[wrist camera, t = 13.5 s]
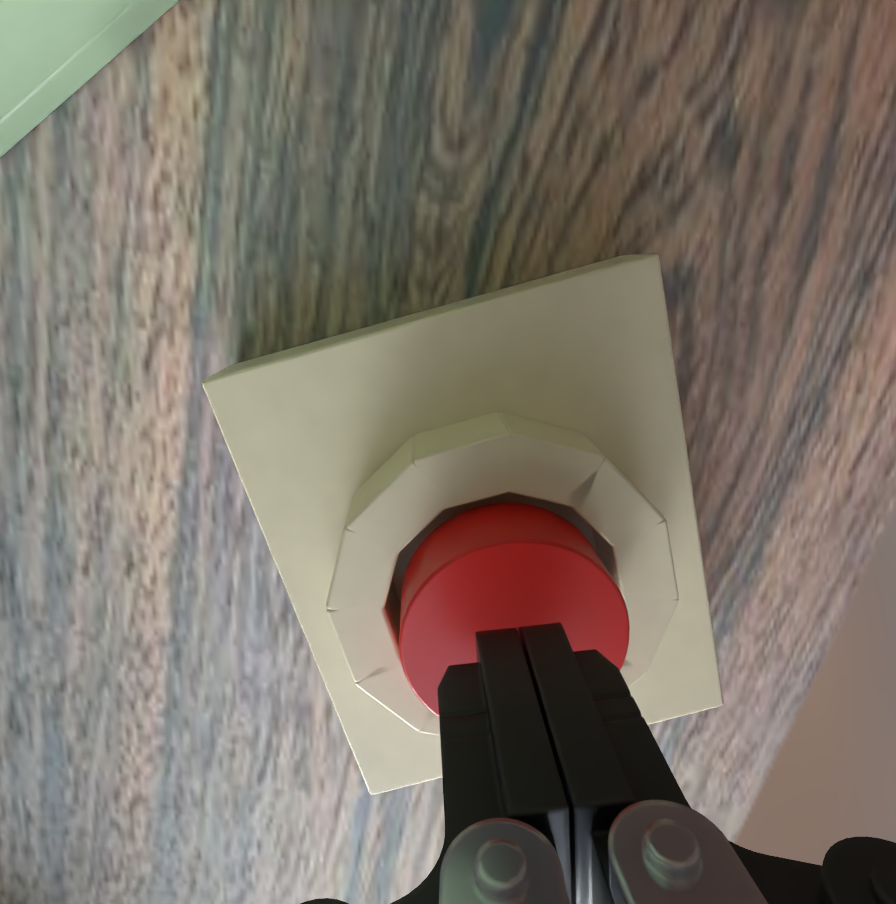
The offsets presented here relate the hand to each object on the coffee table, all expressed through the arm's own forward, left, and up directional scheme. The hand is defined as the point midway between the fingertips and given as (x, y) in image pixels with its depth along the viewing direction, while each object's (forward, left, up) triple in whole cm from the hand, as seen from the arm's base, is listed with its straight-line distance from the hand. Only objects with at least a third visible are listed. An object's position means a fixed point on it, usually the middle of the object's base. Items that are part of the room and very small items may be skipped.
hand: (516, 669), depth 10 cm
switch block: (0, 0, -6) cm, 6 cm away
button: (0, 0, -2) cm, 2 cm away
